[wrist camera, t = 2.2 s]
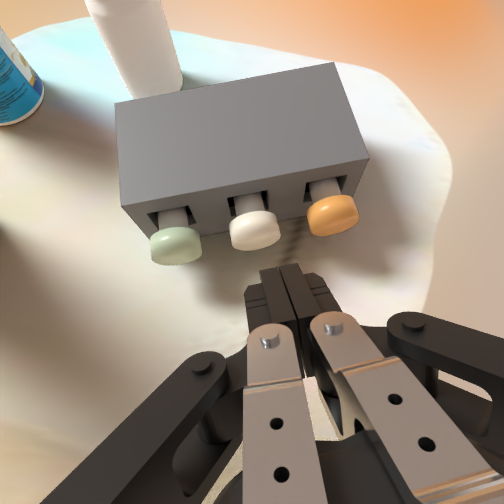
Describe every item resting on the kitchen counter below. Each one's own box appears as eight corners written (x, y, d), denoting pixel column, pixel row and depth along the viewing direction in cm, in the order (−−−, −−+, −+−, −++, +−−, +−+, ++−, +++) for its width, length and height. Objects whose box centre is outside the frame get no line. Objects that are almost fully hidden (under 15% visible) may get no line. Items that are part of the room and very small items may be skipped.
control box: (154, 245, 34) (120, 205, 26) (146, 159, 37) (114, 103, 30) (347, 207, 34) (369, 157, 26) (321, 126, 37) (333, 61, 30)
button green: (160, 268, 30) (144, 252, 26) (155, 218, 32) (139, 196, 28) (206, 259, 30) (196, 242, 26) (198, 209, 32) (188, 186, 28)
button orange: (308, 239, 30) (313, 219, 26) (295, 190, 32) (298, 165, 28) (353, 230, 30) (365, 208, 27) (338, 182, 32) (346, 156, 28)
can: (191, 95, 40) (160, -17, 29) (138, 115, 39) (84, 8, 28) (173, 58, 42) (137, -60, 31) (122, 76, 41) (67, -37, 30)
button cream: (234, 253, 30) (229, 235, 26) (225, 204, 32) (219, 180, 28) (280, 245, 30) (281, 225, 26) (268, 196, 32) (268, 171, 28)
